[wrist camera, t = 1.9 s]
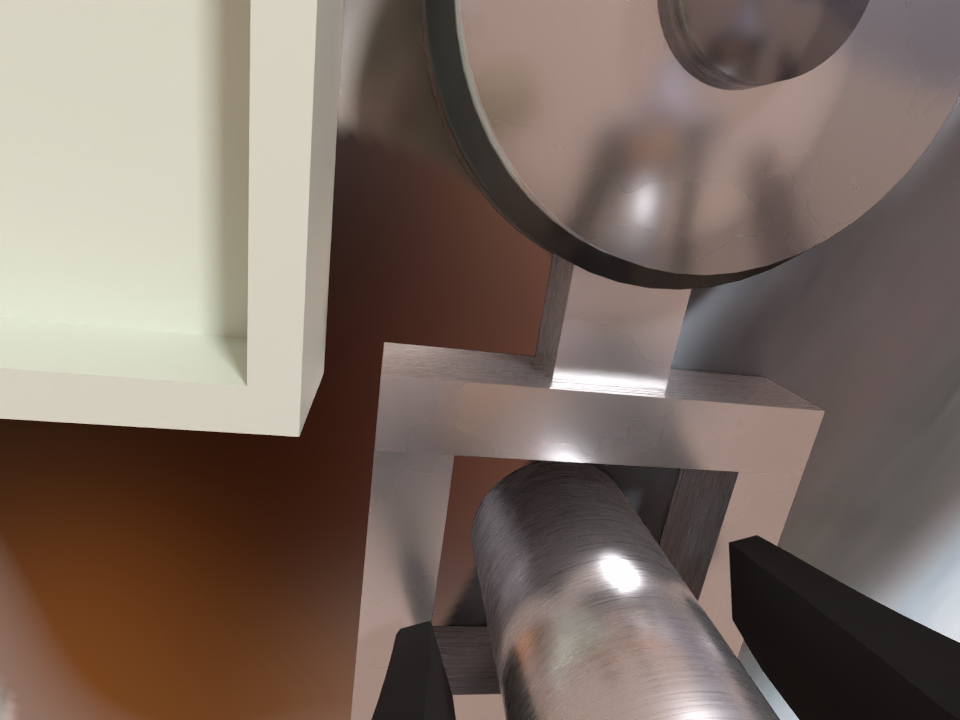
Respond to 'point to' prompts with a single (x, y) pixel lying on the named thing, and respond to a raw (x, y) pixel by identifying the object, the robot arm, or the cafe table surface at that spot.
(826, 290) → the cafe table surface
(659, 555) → the jar with gold lid
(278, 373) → the parts tray
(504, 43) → the tensioner bracket
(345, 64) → the cafe table surface
